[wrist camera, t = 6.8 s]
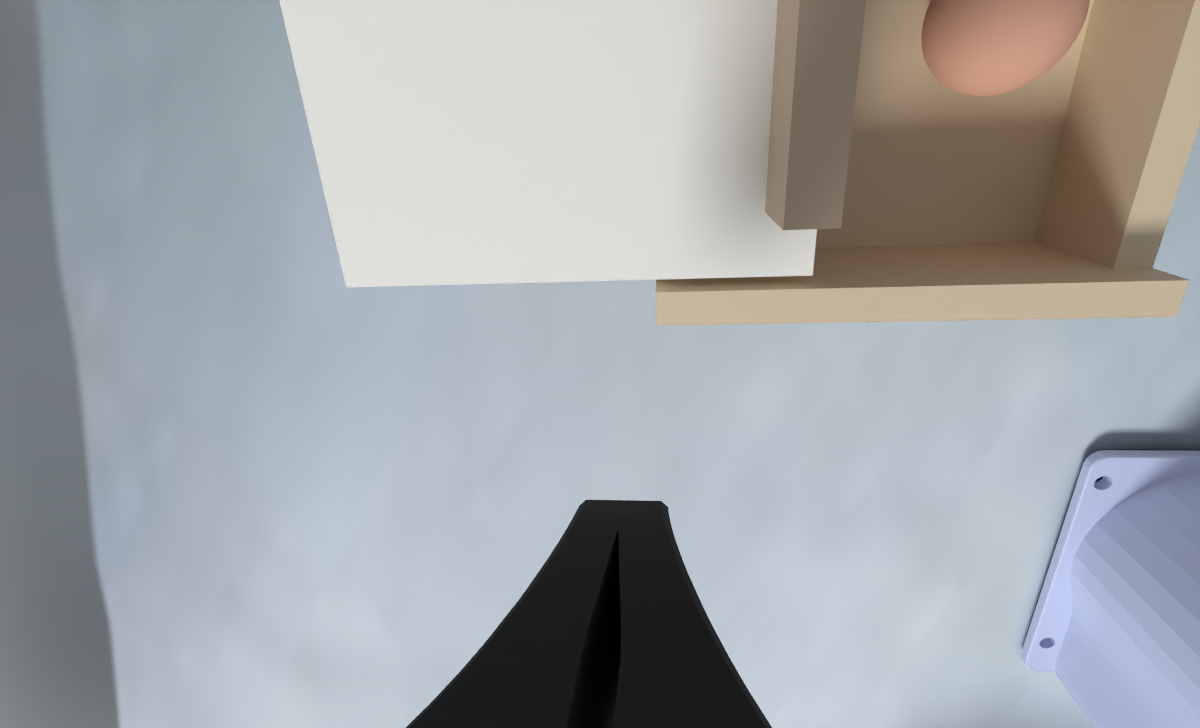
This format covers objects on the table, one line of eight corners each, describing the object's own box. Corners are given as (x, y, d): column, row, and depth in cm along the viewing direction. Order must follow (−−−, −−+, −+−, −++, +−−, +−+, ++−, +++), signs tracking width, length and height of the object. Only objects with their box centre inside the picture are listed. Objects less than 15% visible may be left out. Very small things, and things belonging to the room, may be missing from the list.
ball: (1019, 93, 14) (1102, 90, 12) (892, 100, 15) (945, 98, 12) (1050, -52, 13) (1151, -94, 10) (911, -40, 14) (974, -78, 11)
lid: (805, 267, 13) (837, 303, 11) (360, 279, 15) (298, 314, 12) (857, -322, 9) (927, -474, 7) (244, -241, 11) (118, -347, 8)
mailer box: (1045, 264, 17) (1176, 316, 12) (657, 274, 18) (656, 325, 14) (1194, -319, 12) (1491, -557, 8) (650, -252, 13) (645, -423, 9)
